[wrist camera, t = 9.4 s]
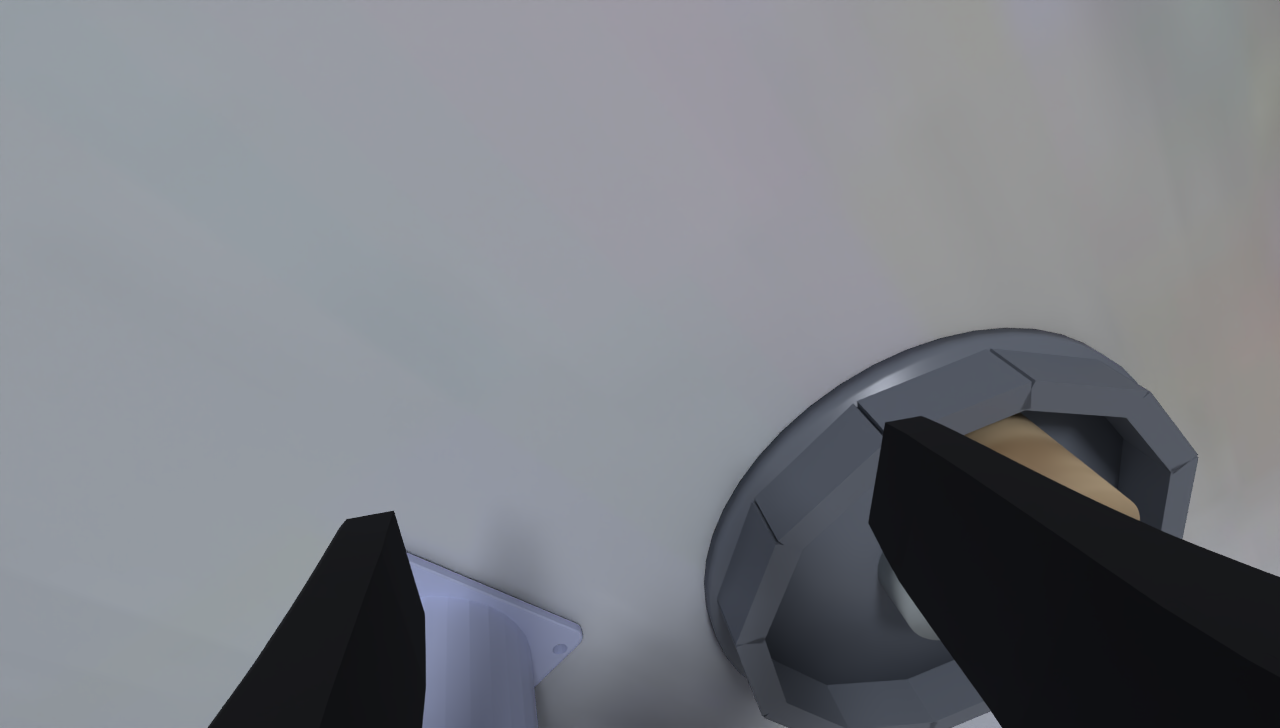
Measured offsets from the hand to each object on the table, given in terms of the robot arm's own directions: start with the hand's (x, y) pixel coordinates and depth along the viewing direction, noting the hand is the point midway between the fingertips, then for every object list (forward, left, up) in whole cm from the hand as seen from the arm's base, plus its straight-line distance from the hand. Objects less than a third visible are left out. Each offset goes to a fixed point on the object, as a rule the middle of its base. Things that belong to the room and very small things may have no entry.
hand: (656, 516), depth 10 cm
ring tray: (0, -18, -9) cm, 20 cm away
